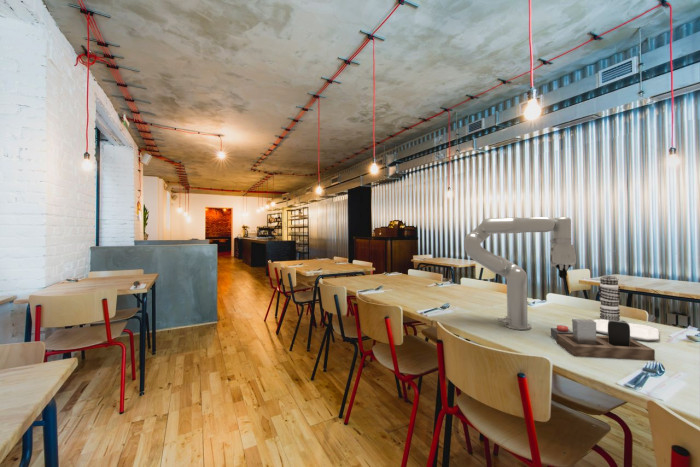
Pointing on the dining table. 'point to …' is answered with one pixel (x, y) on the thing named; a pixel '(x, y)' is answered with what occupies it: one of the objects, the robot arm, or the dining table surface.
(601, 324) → the plate
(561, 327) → the button
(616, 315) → the decorative candle
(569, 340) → the wooden sorting tray
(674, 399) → the dining table surface
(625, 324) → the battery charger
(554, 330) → the button housing
